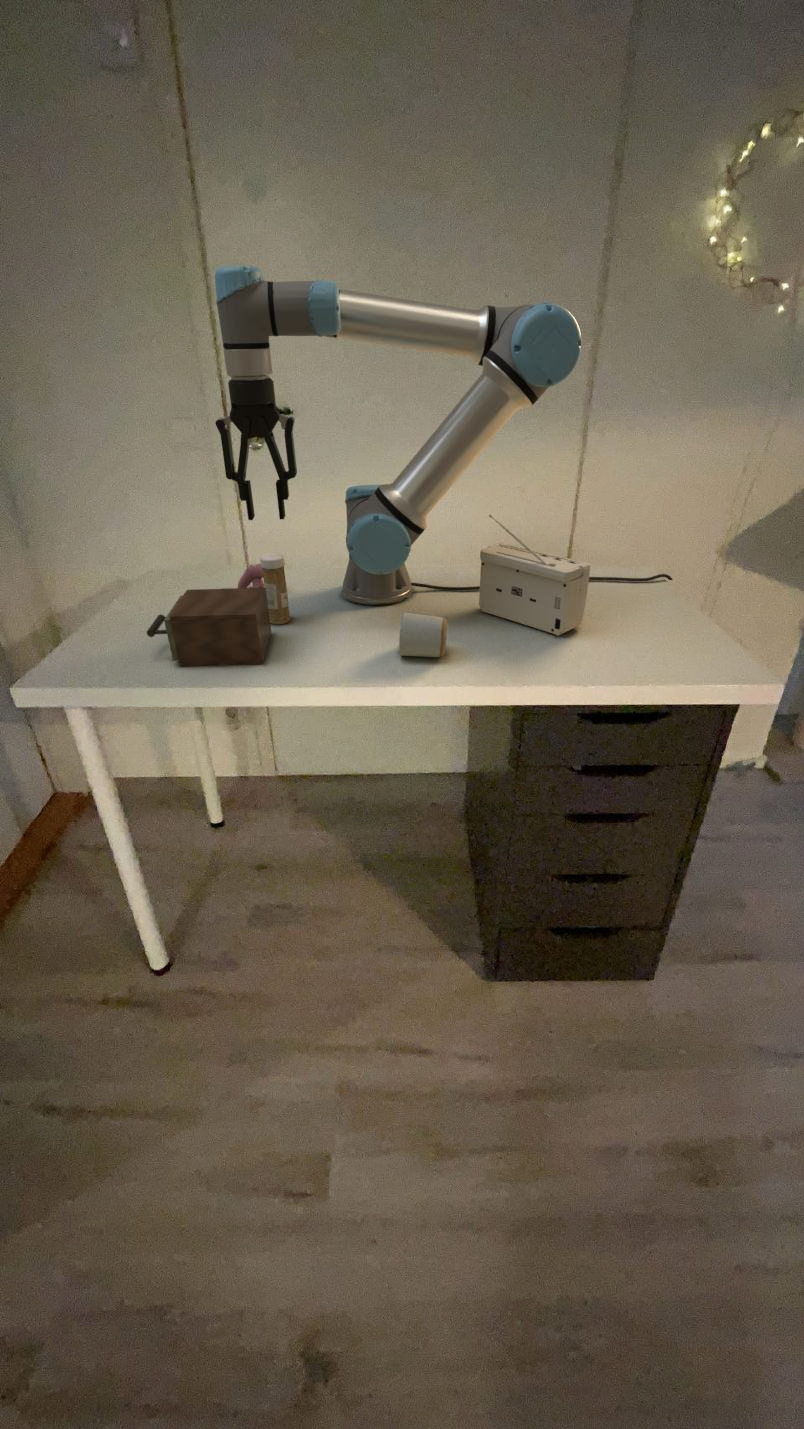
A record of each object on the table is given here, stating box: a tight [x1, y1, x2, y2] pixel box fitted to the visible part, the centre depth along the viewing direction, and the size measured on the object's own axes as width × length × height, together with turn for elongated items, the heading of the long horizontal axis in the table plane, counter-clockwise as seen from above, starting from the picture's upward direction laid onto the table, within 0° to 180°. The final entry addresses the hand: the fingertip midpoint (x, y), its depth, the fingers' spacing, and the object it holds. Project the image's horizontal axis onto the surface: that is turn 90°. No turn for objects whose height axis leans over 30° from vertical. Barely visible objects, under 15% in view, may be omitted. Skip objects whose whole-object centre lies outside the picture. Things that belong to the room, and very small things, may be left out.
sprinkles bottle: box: [259, 552, 291, 625], centre depth 129 cm, size 5×5×14 cm
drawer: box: [146, 595, 183, 661], centre depth 118 cm, size 18×11×8 cm, turn 92°
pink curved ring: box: [237, 563, 264, 588], centre depth 146 cm, size 10×5×7 cm, turn 58°
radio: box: [478, 514, 591, 637], centre depth 126 cm, size 21×8×20 cm, turn 47°
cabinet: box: [169, 587, 272, 667], centre depth 119 cm, size 15×13×10 cm
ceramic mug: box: [398, 612, 448, 658], centre depth 118 cm, size 11×8×8 cm
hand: (267, 517), depth 122 cm, fingers open, 5 cm apart
